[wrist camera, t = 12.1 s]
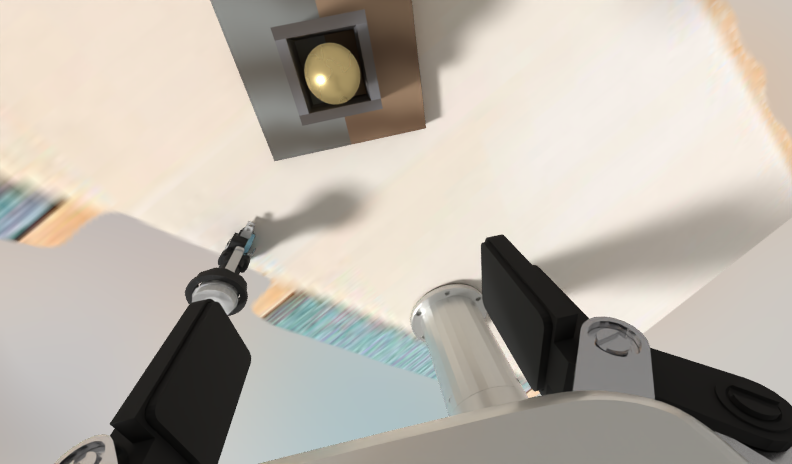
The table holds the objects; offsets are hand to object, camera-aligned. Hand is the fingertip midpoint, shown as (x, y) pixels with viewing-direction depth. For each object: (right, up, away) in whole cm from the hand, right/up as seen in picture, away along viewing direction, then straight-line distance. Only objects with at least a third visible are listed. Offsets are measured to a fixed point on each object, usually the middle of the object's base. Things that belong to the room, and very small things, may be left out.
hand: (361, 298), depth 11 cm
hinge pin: (-4, +17, +17) cm, 24 cm away
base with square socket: (-5, +18, +18) cm, 26 cm away
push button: (-17, +1, +26) cm, 31 cm away
